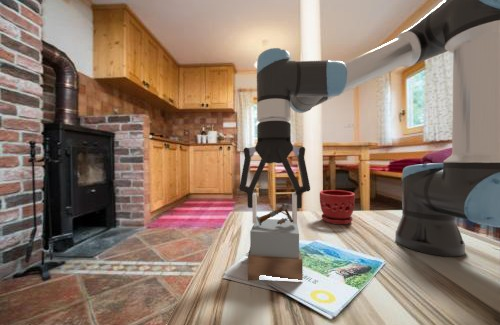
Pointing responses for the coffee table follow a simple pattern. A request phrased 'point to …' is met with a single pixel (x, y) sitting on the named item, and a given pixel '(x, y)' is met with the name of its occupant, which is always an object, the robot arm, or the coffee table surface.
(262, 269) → the tower bottom
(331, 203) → the plant pot
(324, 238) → the coffee table surface
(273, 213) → the wooden post with brackets
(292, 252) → the tower top
